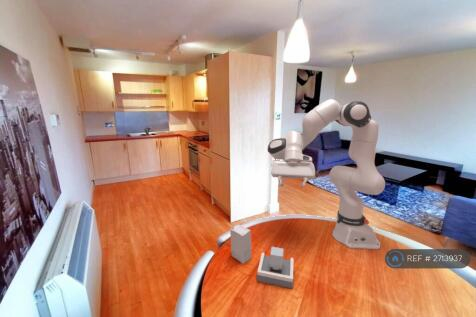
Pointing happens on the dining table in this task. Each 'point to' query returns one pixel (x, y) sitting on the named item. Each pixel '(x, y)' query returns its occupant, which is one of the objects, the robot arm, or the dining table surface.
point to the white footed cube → (276, 259)
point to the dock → (275, 272)
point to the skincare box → (241, 243)
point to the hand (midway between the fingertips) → (292, 186)
